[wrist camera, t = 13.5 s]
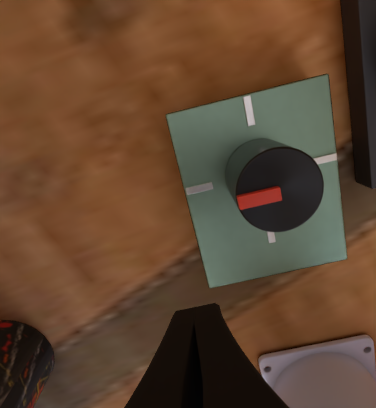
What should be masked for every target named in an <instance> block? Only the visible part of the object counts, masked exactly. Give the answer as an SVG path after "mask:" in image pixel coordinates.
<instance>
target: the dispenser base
mask: <svg viewBox="0 0 376 408" xmlns="http://www.w3.org/2000/svg"><path fill="white" fill-rule="evenodd" d="M340 1H341V12H342V24H343V35H344V47H345V58H346V70H347V82H348V93H349V105H350V116H351V128H352V139H353V151H354V163H355V174H356V182H357V183H360V184H362V185H364V186H367V187H369V188H371V189H373V188H376V0H340Z"/></svg>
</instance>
